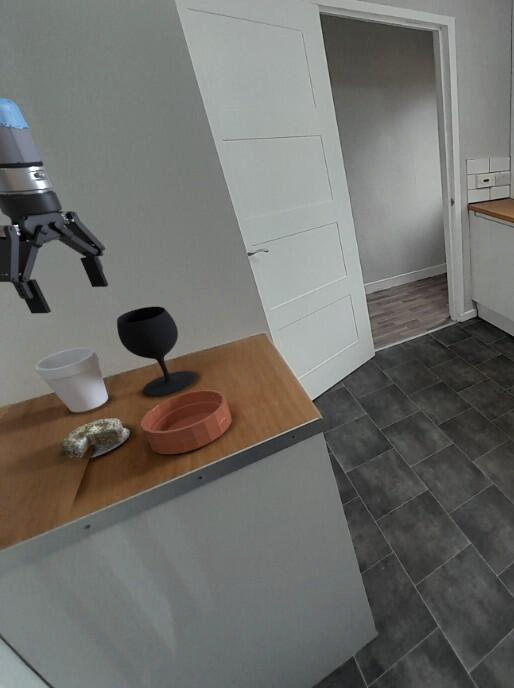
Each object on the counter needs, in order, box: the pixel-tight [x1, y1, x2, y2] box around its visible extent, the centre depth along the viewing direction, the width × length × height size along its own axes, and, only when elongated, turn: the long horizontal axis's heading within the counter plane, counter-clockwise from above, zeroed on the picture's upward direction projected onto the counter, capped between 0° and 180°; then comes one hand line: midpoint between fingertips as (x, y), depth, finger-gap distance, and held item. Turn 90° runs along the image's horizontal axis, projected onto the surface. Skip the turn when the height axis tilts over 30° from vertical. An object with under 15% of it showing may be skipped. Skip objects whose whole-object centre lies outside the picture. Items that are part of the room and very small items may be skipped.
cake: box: [61, 418, 130, 459], centre depth 83 cm, size 10×10×5 cm
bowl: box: [140, 388, 233, 455], centre depth 87 cm, size 14×14×6 cm
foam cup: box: [34, 346, 109, 413], centre depth 93 cm, size 10×9×13 cm
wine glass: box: [116, 306, 196, 398], centre depth 99 cm, size 10×10×20 cm
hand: (73, 298), depth 83 cm, fingers open, 13 cm apart
